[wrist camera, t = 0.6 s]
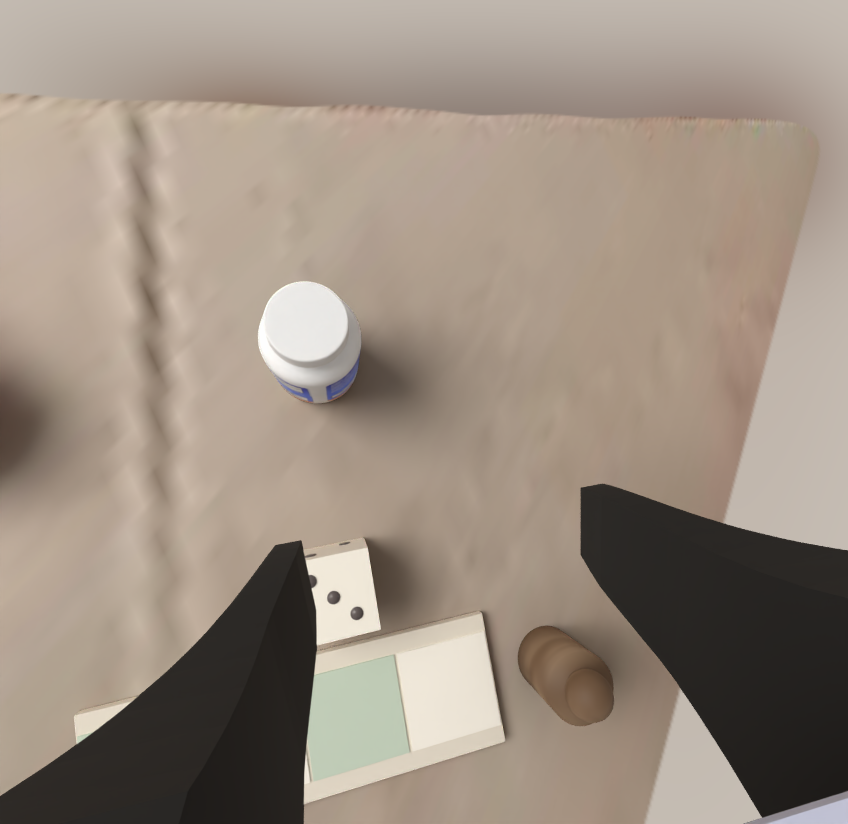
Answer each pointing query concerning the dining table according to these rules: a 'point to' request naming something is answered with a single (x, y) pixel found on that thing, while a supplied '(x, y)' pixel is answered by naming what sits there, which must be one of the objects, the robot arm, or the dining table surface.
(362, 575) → the die
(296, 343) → the pill bottle
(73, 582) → the dining table surface
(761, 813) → the robot arm
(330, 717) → the board
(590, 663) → the pawn
